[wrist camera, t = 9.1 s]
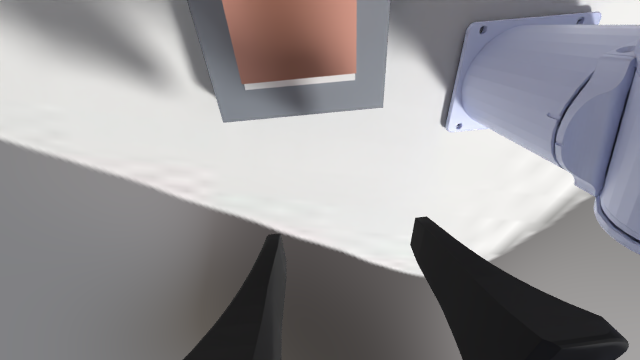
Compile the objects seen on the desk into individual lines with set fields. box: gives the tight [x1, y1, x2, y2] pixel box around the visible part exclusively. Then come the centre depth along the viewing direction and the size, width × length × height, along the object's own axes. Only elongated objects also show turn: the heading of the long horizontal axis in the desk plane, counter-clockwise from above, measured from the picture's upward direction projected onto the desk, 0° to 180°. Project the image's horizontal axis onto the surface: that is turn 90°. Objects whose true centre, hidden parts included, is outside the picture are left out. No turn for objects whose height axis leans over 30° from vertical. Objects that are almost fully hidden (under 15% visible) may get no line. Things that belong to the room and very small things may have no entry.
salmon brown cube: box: [222, 0, 357, 84], centre depth 11 cm, size 5×5×5 cm
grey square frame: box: [187, 0, 390, 123], centre depth 15 cm, size 11×11×3 cm
